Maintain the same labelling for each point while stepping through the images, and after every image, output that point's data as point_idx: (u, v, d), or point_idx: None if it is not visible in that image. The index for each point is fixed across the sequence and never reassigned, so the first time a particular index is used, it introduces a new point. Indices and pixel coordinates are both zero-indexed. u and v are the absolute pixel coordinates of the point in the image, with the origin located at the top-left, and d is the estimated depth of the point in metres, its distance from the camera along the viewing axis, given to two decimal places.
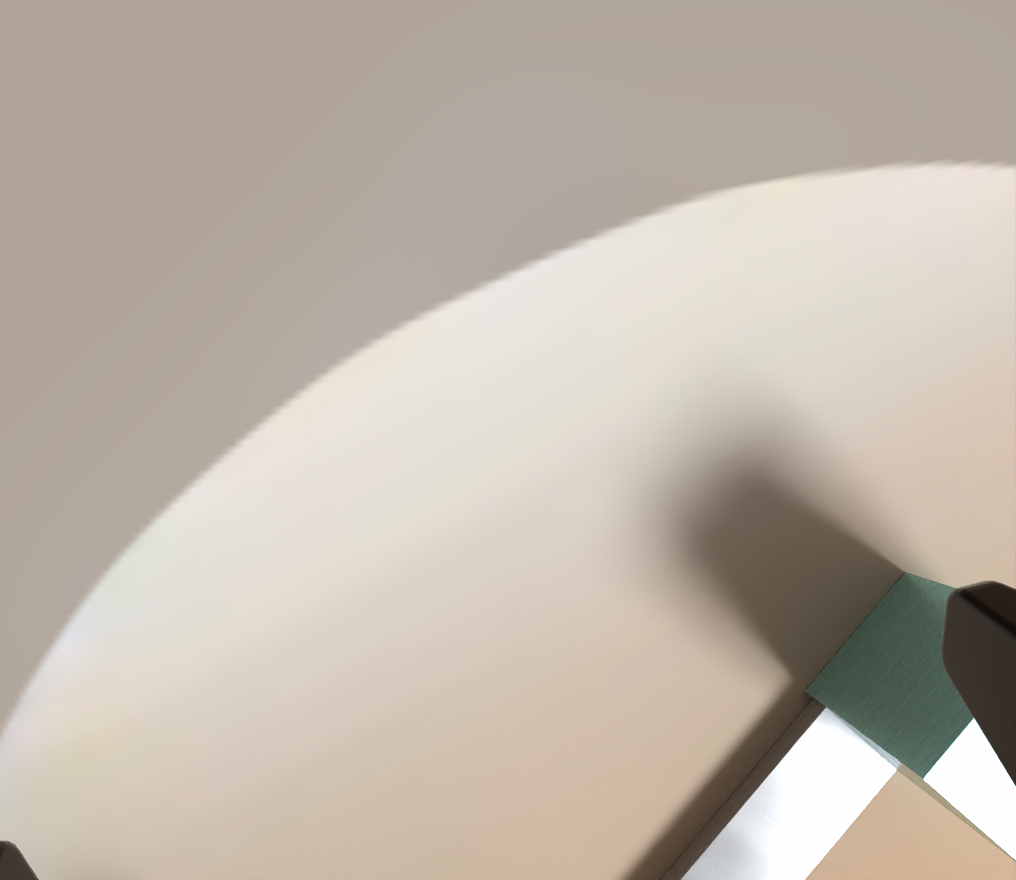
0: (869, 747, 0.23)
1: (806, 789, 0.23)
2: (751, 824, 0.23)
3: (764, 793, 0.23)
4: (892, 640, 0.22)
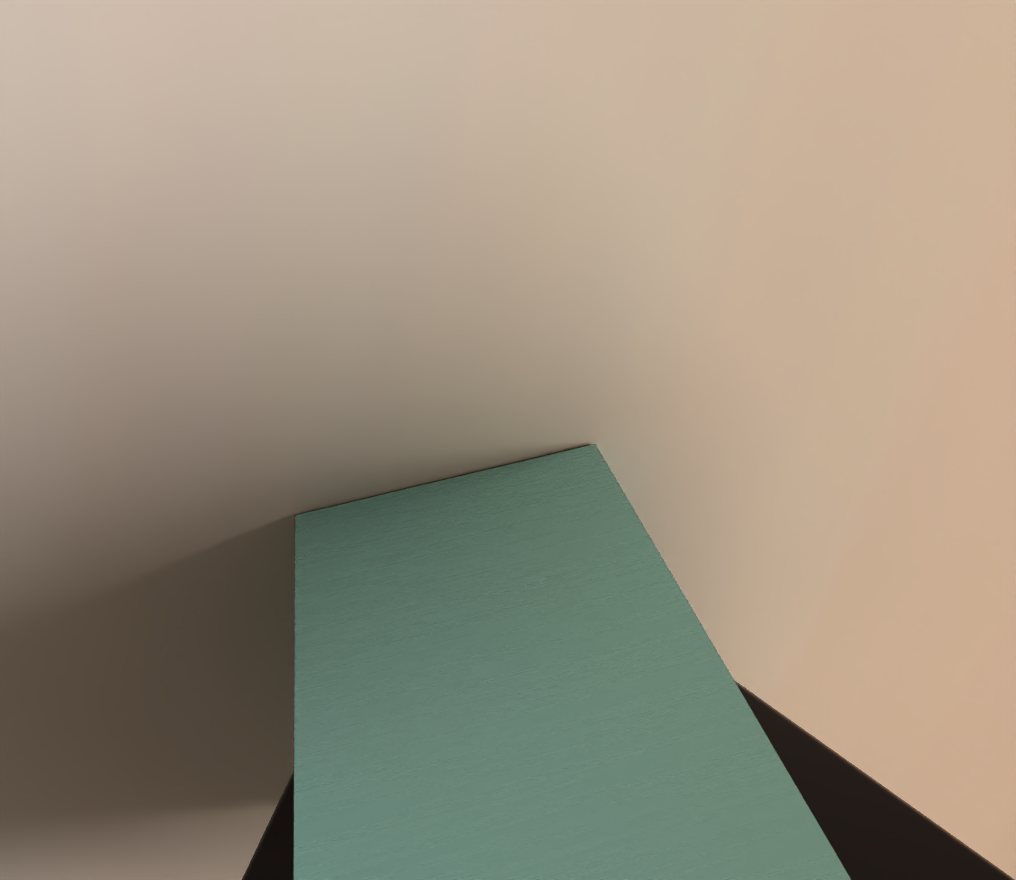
0: None
1: None
2: None
3: None
4: None
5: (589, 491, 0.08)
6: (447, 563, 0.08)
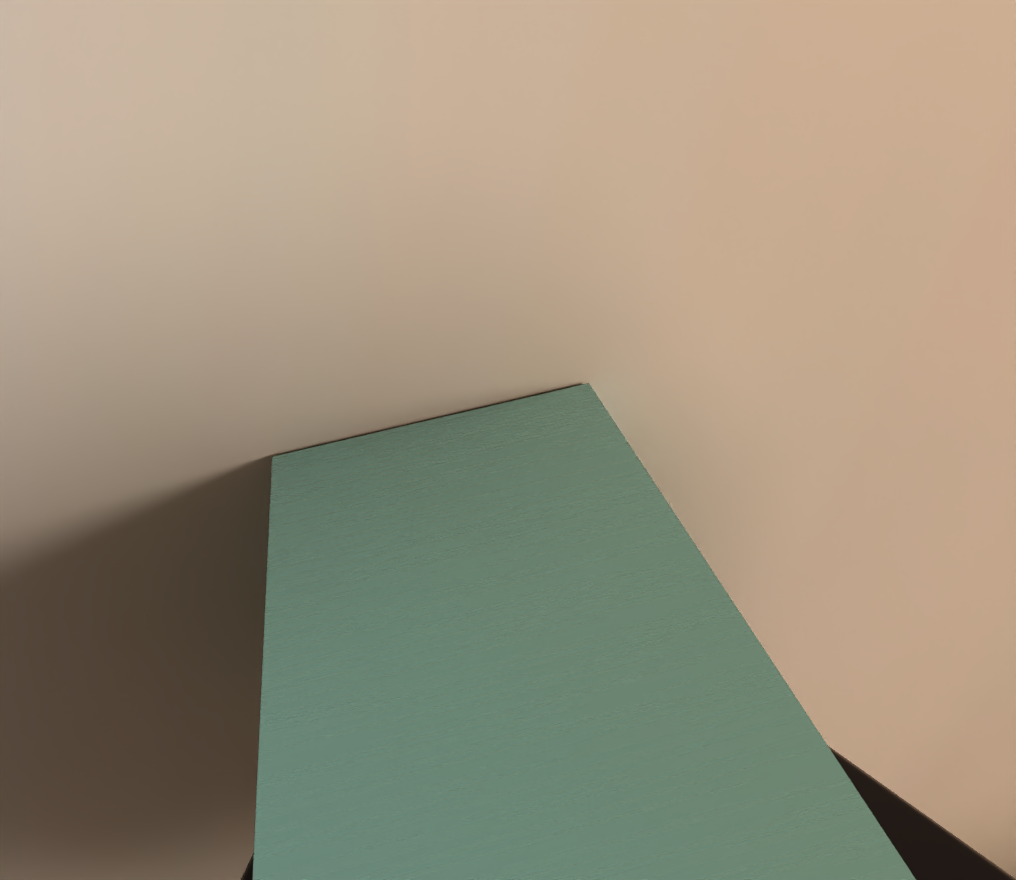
0: None
1: None
2: None
3: None
4: None
5: (581, 428, 0.08)
6: (430, 498, 0.07)
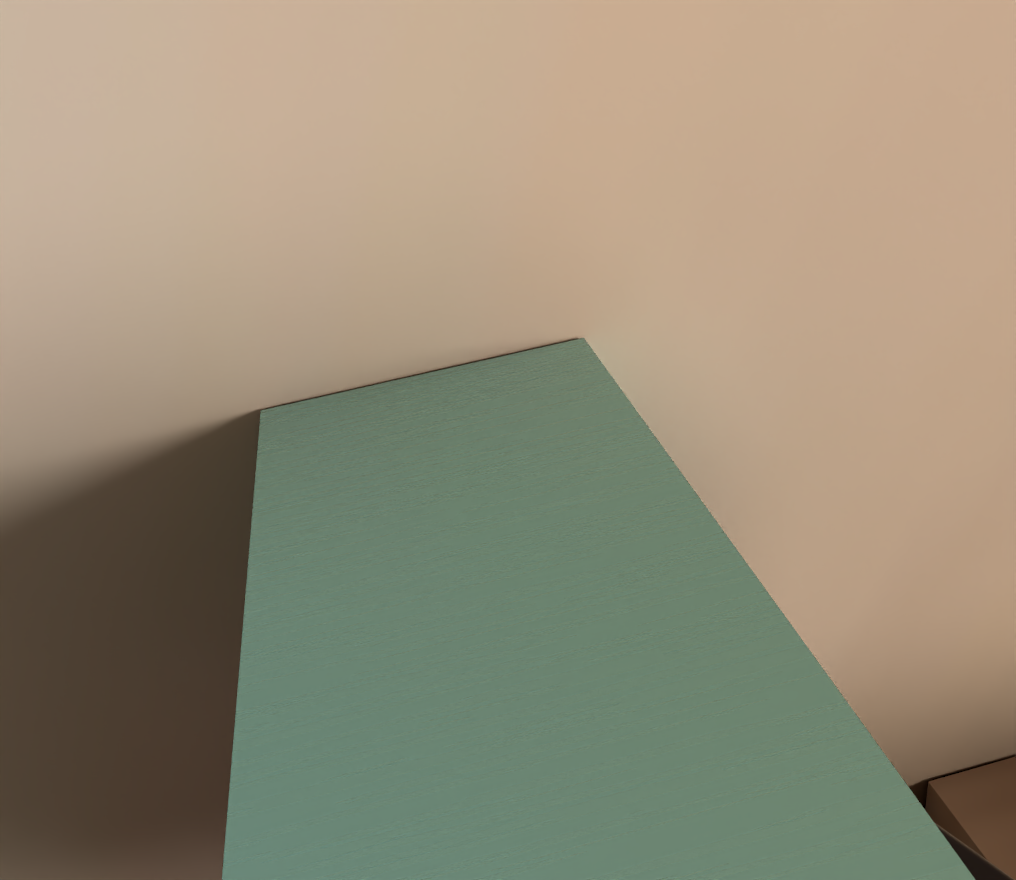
0: None
1: None
2: None
3: None
4: None
5: (576, 378, 0.08)
6: (421, 446, 0.07)
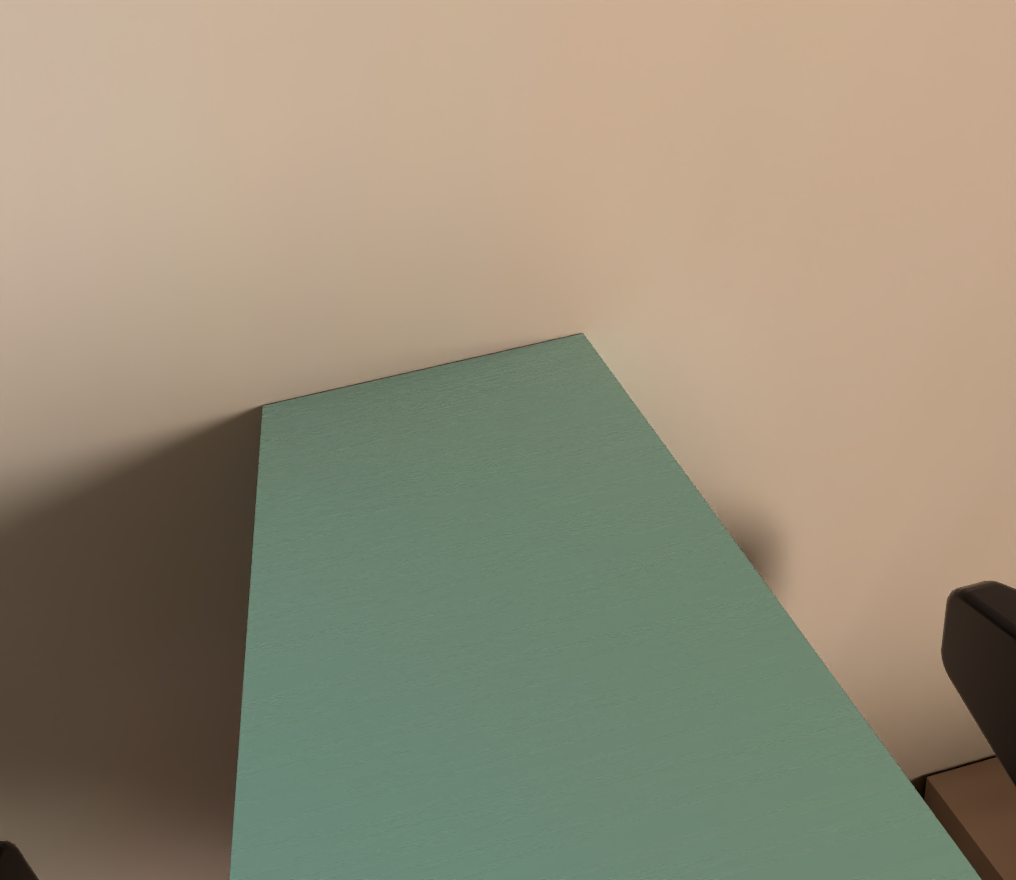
0: None
1: None
2: None
3: None
4: None
5: (575, 373, 0.08)
6: (423, 441, 0.07)
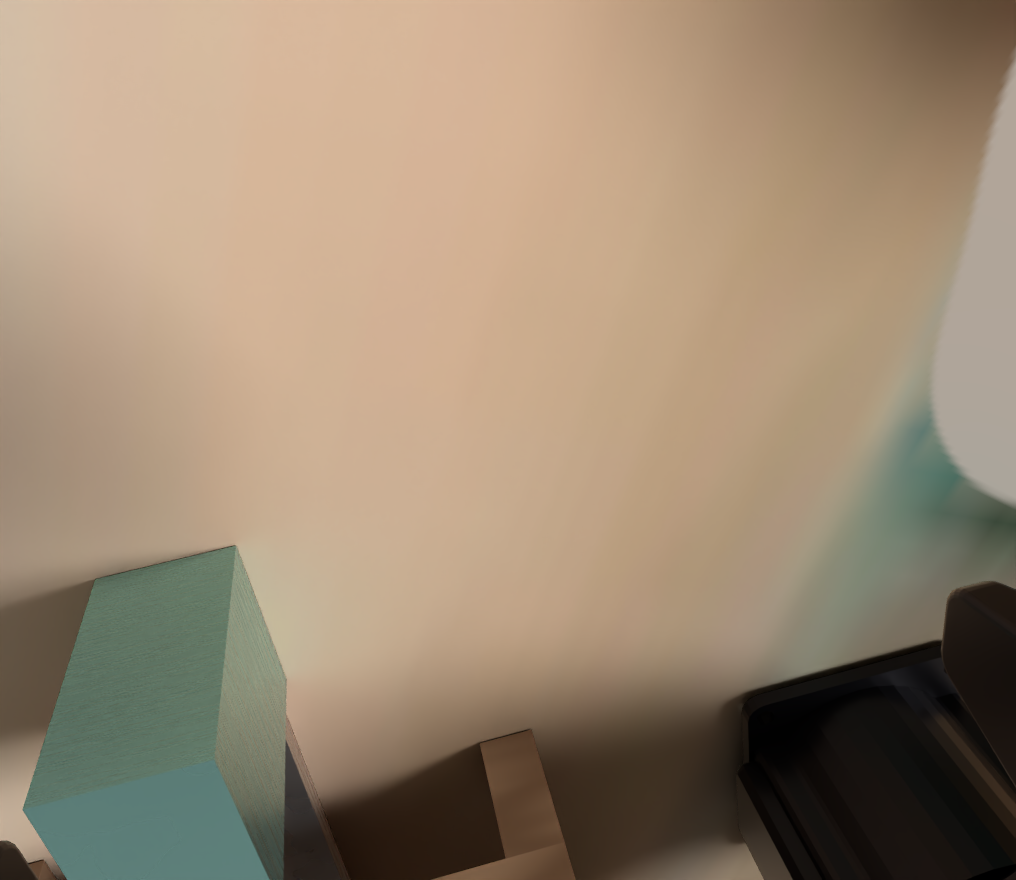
0: None
1: None
2: None
3: None
4: None
5: (220, 570, 0.19)
6: (148, 602, 0.19)
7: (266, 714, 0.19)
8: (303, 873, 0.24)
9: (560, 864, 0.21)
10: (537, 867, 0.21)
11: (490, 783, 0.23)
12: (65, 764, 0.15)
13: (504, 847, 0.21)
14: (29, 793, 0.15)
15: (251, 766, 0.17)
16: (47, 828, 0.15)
